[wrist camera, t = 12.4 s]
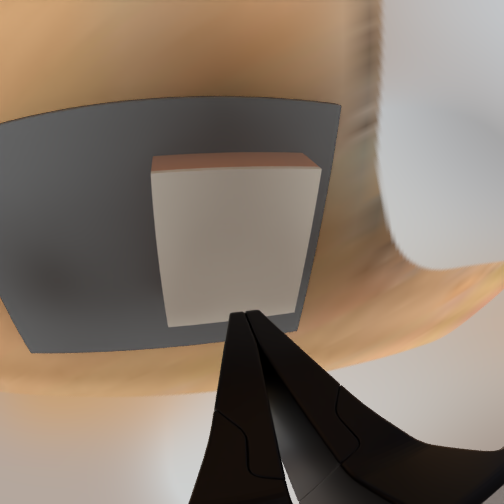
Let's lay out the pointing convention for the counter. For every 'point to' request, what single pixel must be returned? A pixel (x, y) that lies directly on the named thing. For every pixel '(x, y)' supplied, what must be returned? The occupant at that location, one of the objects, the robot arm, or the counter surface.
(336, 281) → the counter surface
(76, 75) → the counter surface
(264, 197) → the tile
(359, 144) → the counter surface
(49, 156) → the mat
